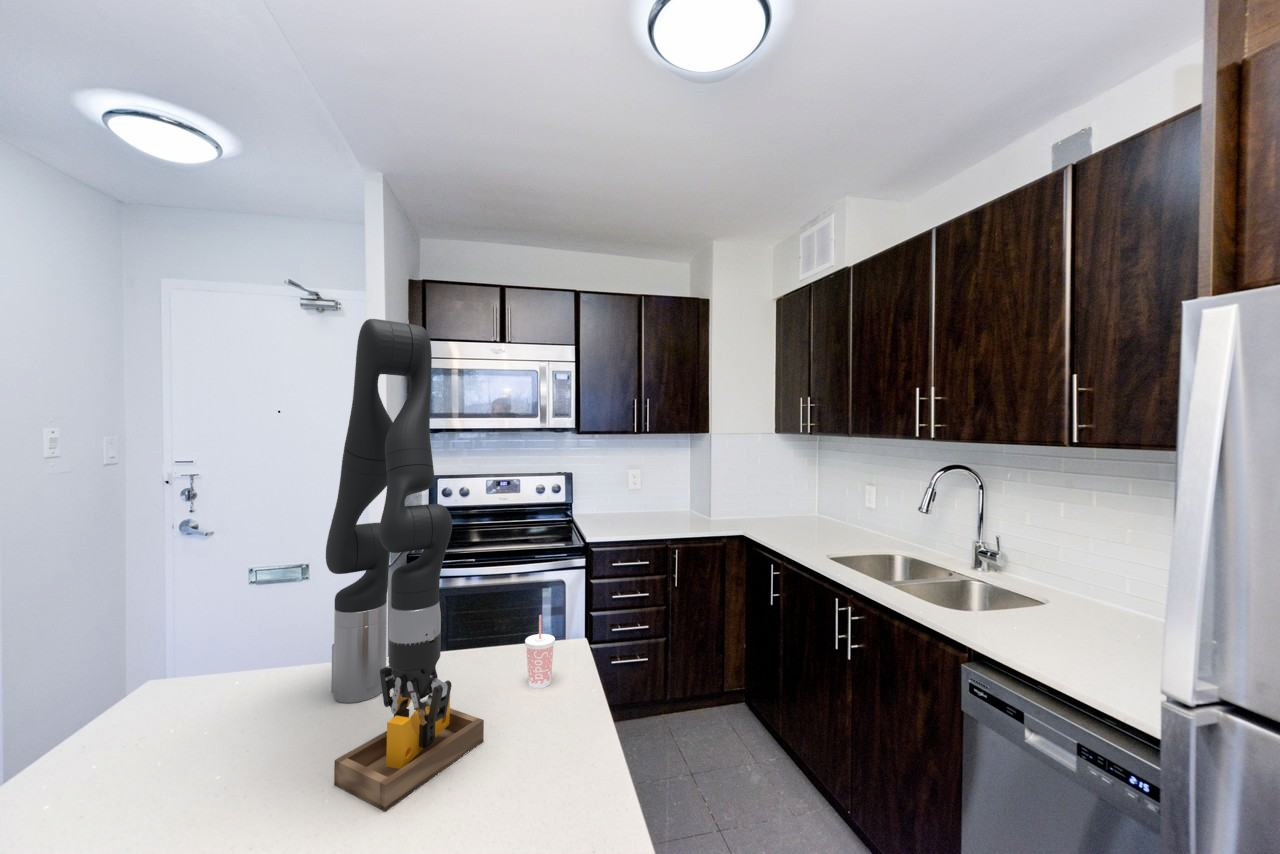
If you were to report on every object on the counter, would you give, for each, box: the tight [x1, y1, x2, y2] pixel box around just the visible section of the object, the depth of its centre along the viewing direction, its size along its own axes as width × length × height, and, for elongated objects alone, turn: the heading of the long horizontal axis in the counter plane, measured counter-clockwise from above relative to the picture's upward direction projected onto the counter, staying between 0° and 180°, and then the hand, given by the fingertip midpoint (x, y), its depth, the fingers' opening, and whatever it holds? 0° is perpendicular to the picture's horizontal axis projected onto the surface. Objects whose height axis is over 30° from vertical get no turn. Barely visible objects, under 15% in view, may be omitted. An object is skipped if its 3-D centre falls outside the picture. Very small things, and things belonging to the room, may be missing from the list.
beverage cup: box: [524, 614, 556, 689], centre depth 108 cm, size 6×6×14 cm
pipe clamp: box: [386, 696, 451, 769], centre depth 83 cm, size 12×4×6 cm, turn 167°
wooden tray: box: [333, 707, 485, 812], centre depth 82 cm, size 11×18×4 cm, turn 152°
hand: (414, 739), depth 82 cm, fingers closed on pipe clamp, 5 cm apart
